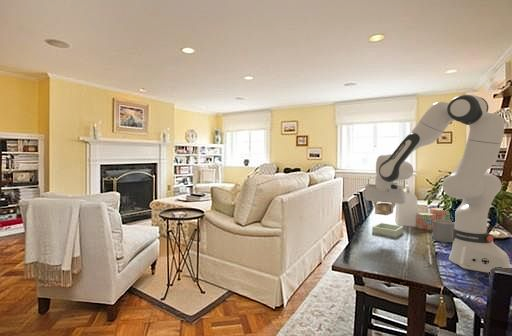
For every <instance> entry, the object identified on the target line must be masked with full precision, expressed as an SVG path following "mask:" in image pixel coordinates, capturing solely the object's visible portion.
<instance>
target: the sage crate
mask: <svg viewBox="0 0 512 336" xmlns="http://www.w3.org/2000/svg"><path fill="white" fill-rule="evenodd" d="M371 233H372V234H373V233H374V234H373V235H379V236H384V237H389V238H394V239H397V238H398V237H399V236H401V235H403V234H404V226H401V225H398V224H391V223H384V222H380V223H378V224H377V223H376V224H375V225H372V231H371Z"/></svg>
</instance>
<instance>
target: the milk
mask: <svg viewBox="0 0 512 336" xmlns="http://www.w3.org/2000/svg"><path fill="white" fill-rule="evenodd" d="M403 190H404V192H405V203H404V204H396V205H395V216H394V217H395V218H394V220H395V221H394V222H395V223H396V225H397V226H403V227H404V226H405V227H416V213H419V212H418V211H419V209H418V207H419V206H418V197H417V196H416V195H415V194H414V193H413V192H412V191H411V190H410V185H409V184H405V186H404V188H403ZM416 228H417V227H416Z"/></svg>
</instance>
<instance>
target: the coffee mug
mask: <svg viewBox="0 0 512 336" xmlns="http://www.w3.org/2000/svg"><path fill="white" fill-rule="evenodd" d="M454 224H455V222H452V221H448V220H433V229H432V240H434V241H436V242H441V243H447V242H452V243H453V239H452V233H453V228H454Z"/></svg>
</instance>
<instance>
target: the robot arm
mask: <svg viewBox="0 0 512 336" xmlns="http://www.w3.org/2000/svg"><path fill="white" fill-rule="evenodd" d="M454 121H456V122H458V123H461V124H464V125H467V126H468V127H469V133H468V137H467V141H466V145H465V149H464V152H463V155H462V157H461V159H460V161H459V162H458V164H457V165H456V168H454V169H453V171H452V172H451V173H450V174H449V175H448V176H446V177H445V178H444V179H443V182H442V189H443V192H444V193H445V195H446V196H448V197H450V198H453V199H458V200H462V201H461V203H460V204H459V206H458V207H457V208H456V209H455V210H456V211H455V224H454V228H453V233H452V239H453V242H452V246H451V251H450V254H449V256H448V260H449V261H450V262H451V263H453V264H456V265H458V266H459V267H461V268H462V269H465V270H470V271H476V272H482V273H487V274H490V273H489V272H490V270H491V269H492V268H495V267H502V268H512V264H511V262H510V257H509V256H508V255H509V254H507V252H505V250H503V249H502V248H501V247H500V246H497V245H496V244H495V243H494V242H493V241H494V237H493V234H492V233H489V232H487V227H488V215H489V211H490V208H491V206H492V204H493V201H494V199H495V197H496V196H497V194H499V193H500V192H501V191H502V187H503V186H502V181H501V179H500V178H499V177H498V176H497V175H494V174H491V173H487V171H488V170H489V169H490V168H491V167H492V166H493V165H495V163H496V162H497V159H498V156H499V153H500V150H501V147H502V143H503V138H504V134H505V125H506V123H505V121H506V120H505V118H504V117H503V116H501V115H500V114H496V113H493V112H492V113H491V112H489V104H488V102H487V100H486V99H485V98H482V97H479V96H478V95H473V94H460V95H458V96H456V97H454V98H453V99H451V100H450V101H449V103H448V102H445V101H437V102H435V103H433V104H432V105H431V106H430V107H429V108H428V109H427V110H426V111H425V112H424V114H423V115H422V116H421V118H420V119H419V121H418V122H417V123H416V125H415V126H414V128H413V129H412V130H411V132H410V133H409V134H407V136H406V137H404V139H403V140H402V141H401V142H400V143H399V145H398V146H397V147H396V149H395V150H394V151H393V153H391V154H381V155H379V156H378V157H377V158H376V162H375V163H376V164H375V172H376V173H375V174H376V176H375V183H368V184H366V185H365V188H364V189H365V192H364V193H365V194H364V199H365V201H370V202H372V203H373V205H374V206H375V204H378V202H379V203H391V204H392V205H393V206H392V207H391V208H389V209H390V210H389V211H392V212H393V213H394V208H396V204H404V203H405V192H404V190H403V189H404V185H403V184H402V183H399V182H396V181H403V180H408V179H410V178H411V177H412V175H413V174H414V167H413V165H412V164H411V163H410V162H408V161H407V159H408V158H409V157H410V155H411V154H412V153H413V152H415V151H416V150H418V149H420V148H421V147H425V146H428V145H431V144H433V143H435V142H436V141H437V140H438V139H439V138H440V137H441V136H442V134H443V133H444V132H445V130H446V129H447V127H448V126H449V125H450V124H451V123H452V122H454Z"/></svg>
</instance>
